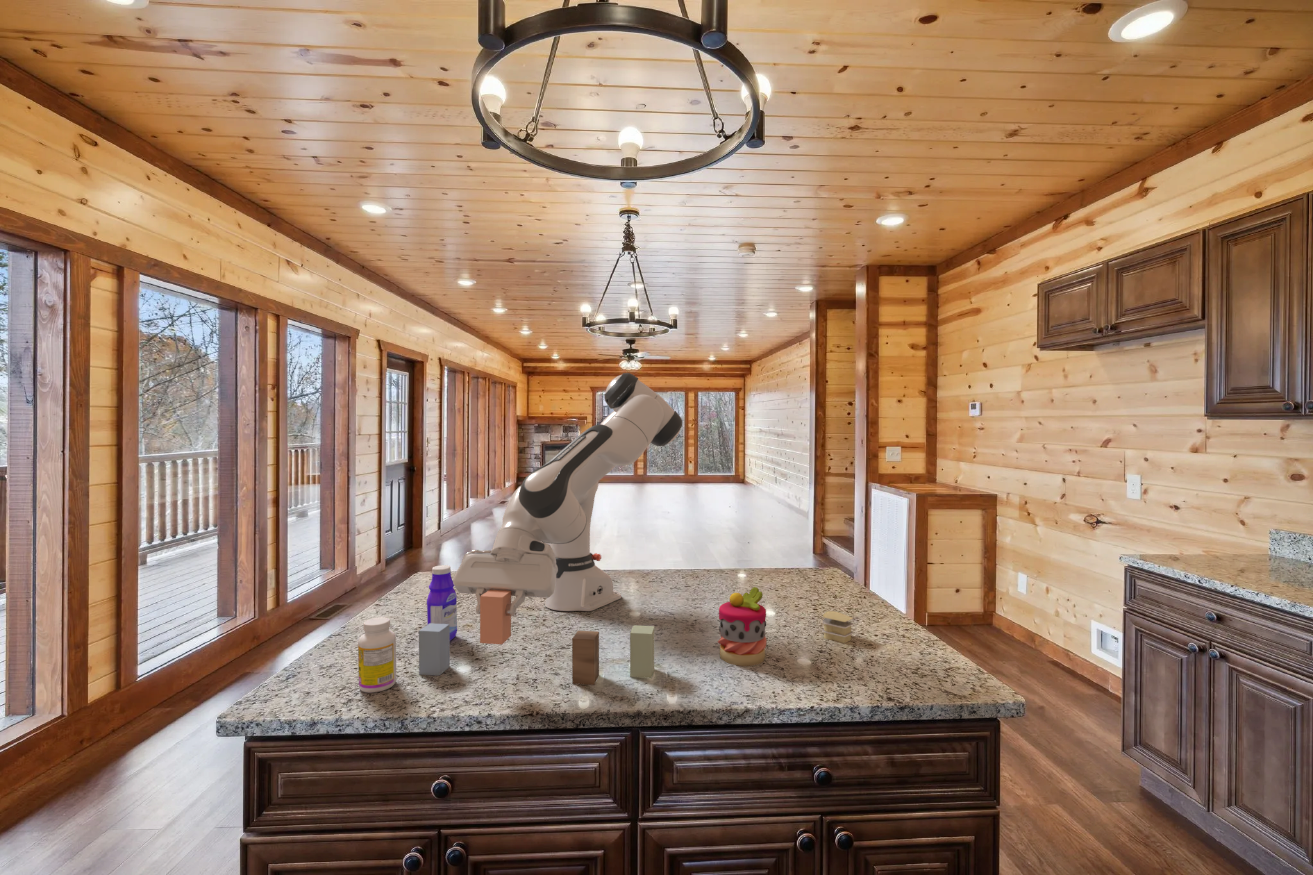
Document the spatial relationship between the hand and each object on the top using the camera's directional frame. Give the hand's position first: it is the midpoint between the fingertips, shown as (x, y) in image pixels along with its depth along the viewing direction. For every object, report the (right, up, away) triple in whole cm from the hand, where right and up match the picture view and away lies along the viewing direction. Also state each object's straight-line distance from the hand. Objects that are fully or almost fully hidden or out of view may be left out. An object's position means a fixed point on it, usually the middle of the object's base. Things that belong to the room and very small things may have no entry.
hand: (494, 613), depth 111 cm
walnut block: (+17, -15, +5) cm, 23 cm away
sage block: (+28, -15, +8) cm, 33 cm away
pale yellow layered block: (+74, -15, +28) cm, 81 cm away
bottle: (-20, -14, +26) cm, 35 cm away
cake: (+50, -15, +16) cm, 54 cm away
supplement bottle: (-23, -15, +2) cm, 28 cm away
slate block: (-15, -14, +9) cm, 23 cm away
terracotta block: (0, -5, +1) cm, 5 cm away
